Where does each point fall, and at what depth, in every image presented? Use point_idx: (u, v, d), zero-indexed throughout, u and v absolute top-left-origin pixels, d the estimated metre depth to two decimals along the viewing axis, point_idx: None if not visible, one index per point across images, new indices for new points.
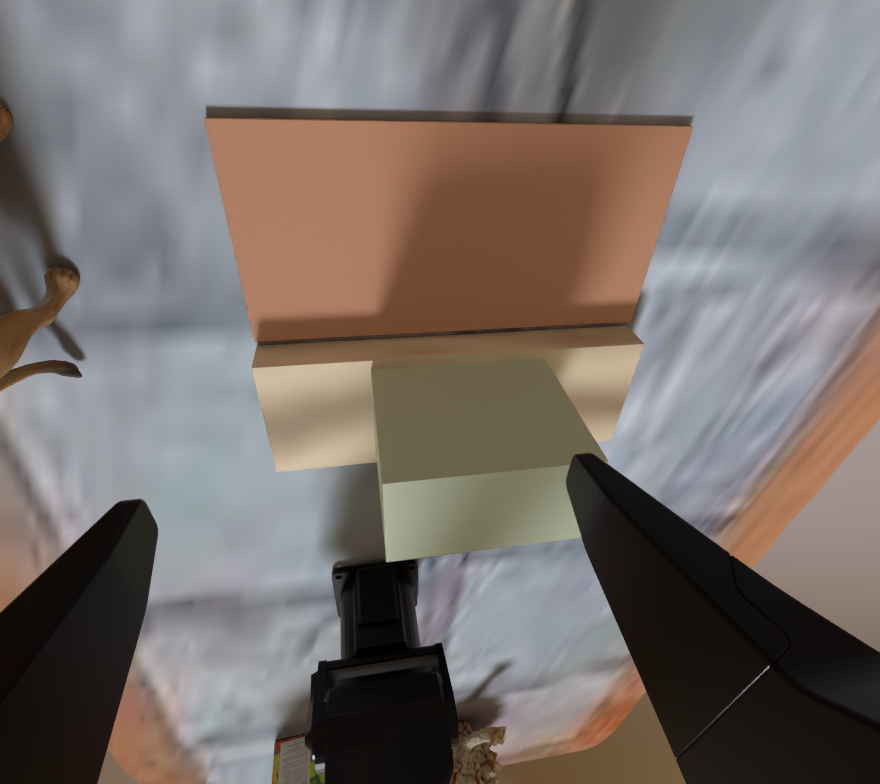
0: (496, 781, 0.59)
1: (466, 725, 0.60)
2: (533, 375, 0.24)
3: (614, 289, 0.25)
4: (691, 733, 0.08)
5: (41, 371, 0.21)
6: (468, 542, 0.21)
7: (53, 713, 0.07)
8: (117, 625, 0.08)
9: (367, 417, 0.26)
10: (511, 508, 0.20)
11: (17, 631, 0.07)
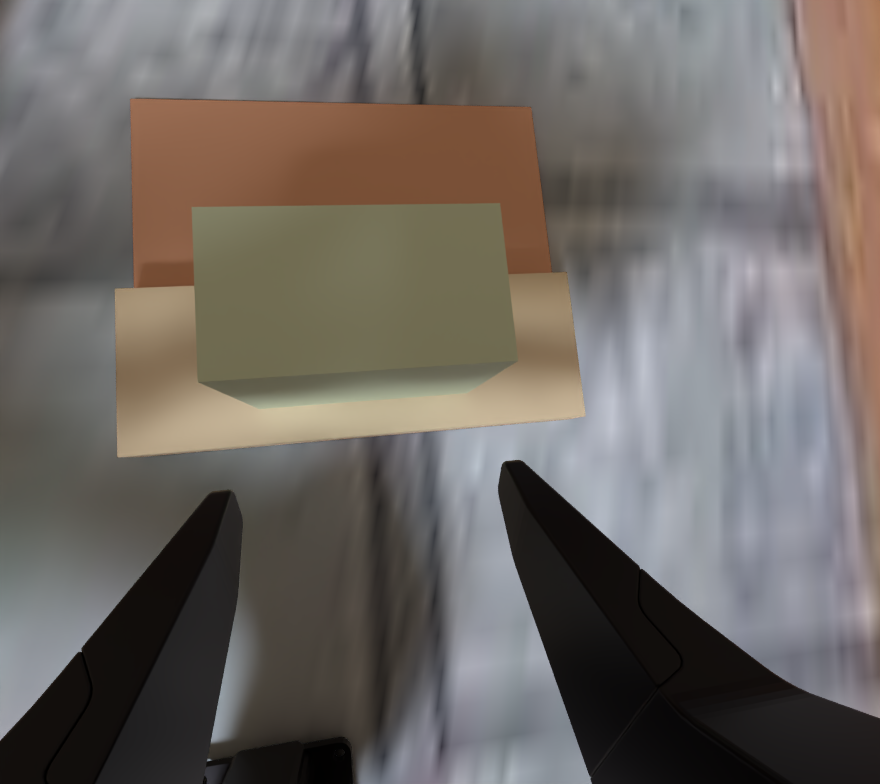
0: None
1: None
2: None
3: (519, 241, 0.25)
4: (600, 752, 0.08)
5: None
6: (332, 348, 0.14)
7: (179, 692, 0.07)
8: (220, 611, 0.08)
9: None
10: (385, 277, 0.14)
11: (146, 613, 0.07)
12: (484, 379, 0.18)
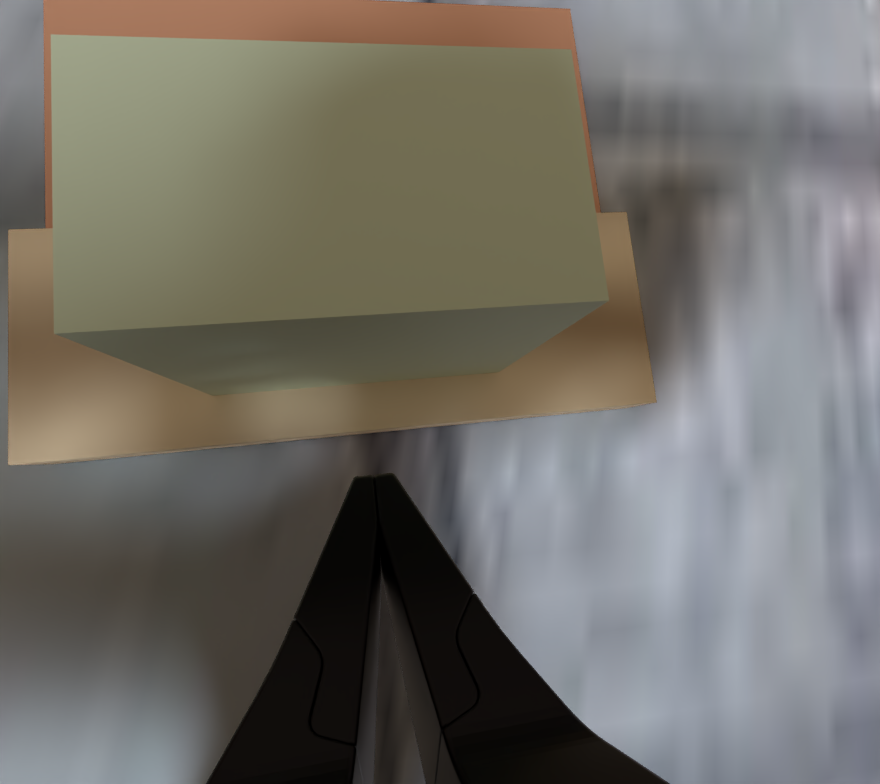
0: None
1: None
2: None
3: None
4: None
5: None
6: (297, 277, 0.08)
7: (371, 661, 0.07)
8: (379, 588, 0.09)
9: None
10: (387, 161, 0.08)
11: (342, 586, 0.07)
12: (534, 345, 0.12)
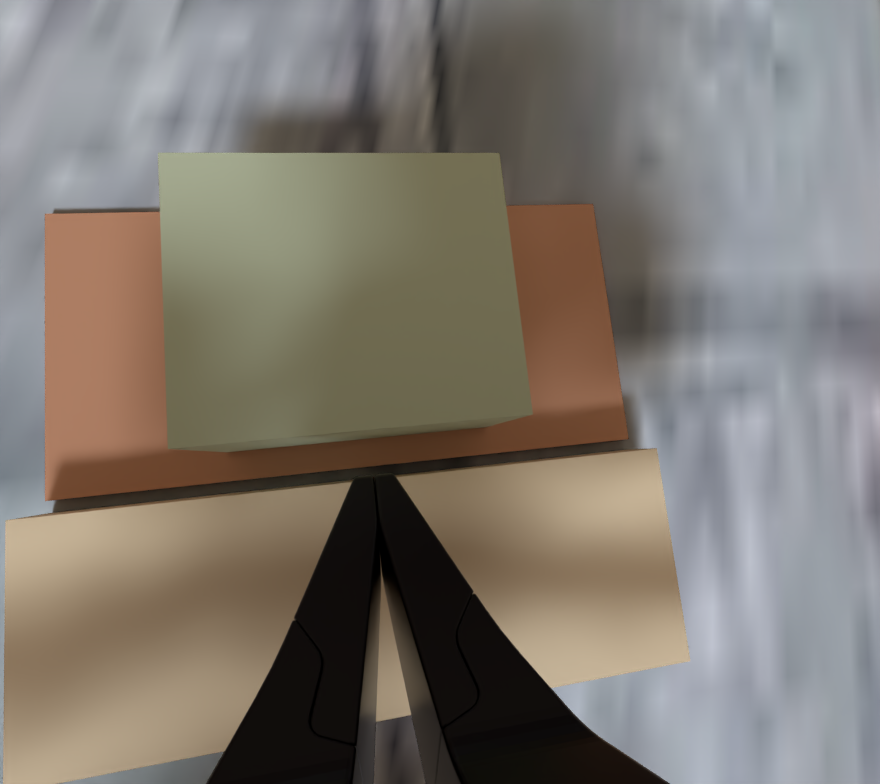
0: None
1: None
2: None
3: (582, 390, 0.18)
4: None
5: None
6: None
7: (371, 660, 0.07)
8: (378, 588, 0.09)
9: (209, 625, 0.14)
10: None
11: (342, 586, 0.07)
12: (508, 271, 0.13)
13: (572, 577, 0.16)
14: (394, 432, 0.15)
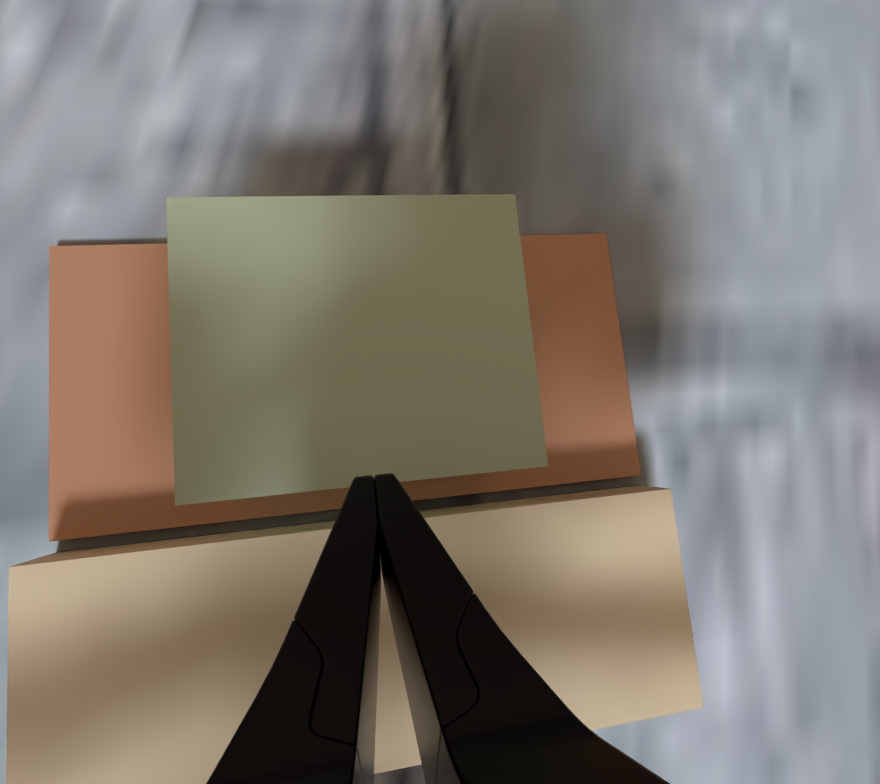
0: None
1: None
2: None
3: (595, 425, 0.18)
4: None
5: None
6: None
7: (371, 661, 0.07)
8: (378, 588, 0.09)
9: (215, 674, 0.14)
10: None
11: (342, 586, 0.07)
12: (523, 317, 0.13)
13: (584, 621, 0.15)
14: None
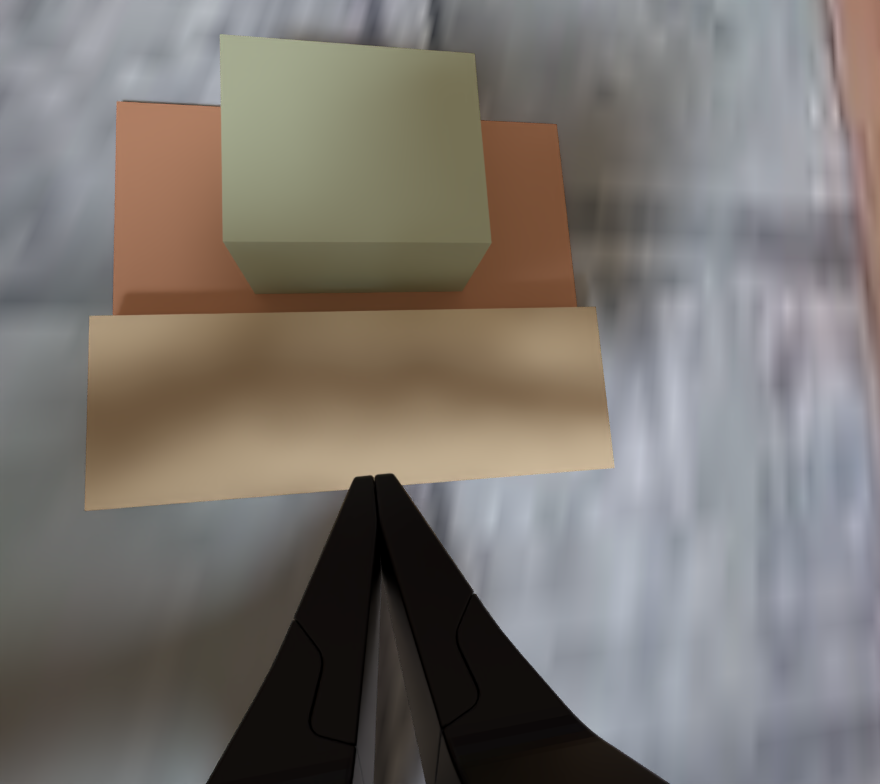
0: None
1: None
2: None
3: (541, 269, 0.23)
4: None
5: None
6: None
7: (371, 661, 0.07)
8: (378, 588, 0.09)
9: (240, 406, 0.18)
10: None
11: (342, 586, 0.07)
12: (477, 139, 0.18)
13: (524, 396, 0.20)
14: (387, 270, 0.19)
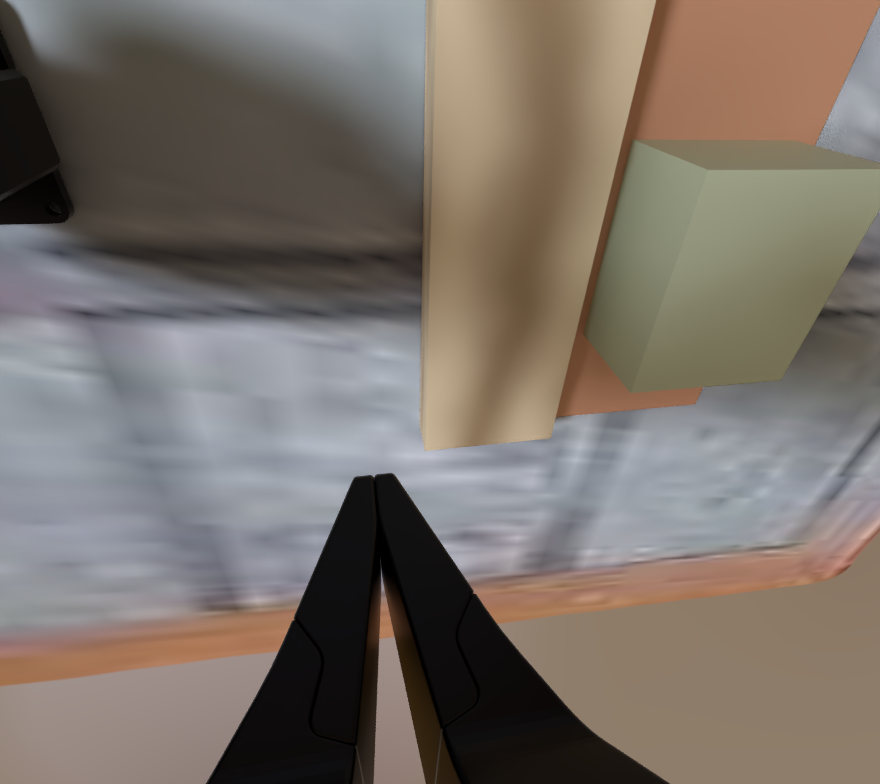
0: None
1: None
2: None
3: (585, 393, 0.27)
4: None
5: None
6: None
7: (371, 660, 0.07)
8: (379, 588, 0.09)
9: (527, 139, 0.17)
10: None
11: (342, 586, 0.07)
12: (714, 382, 0.21)
13: (490, 390, 0.24)
14: (625, 293, 0.21)
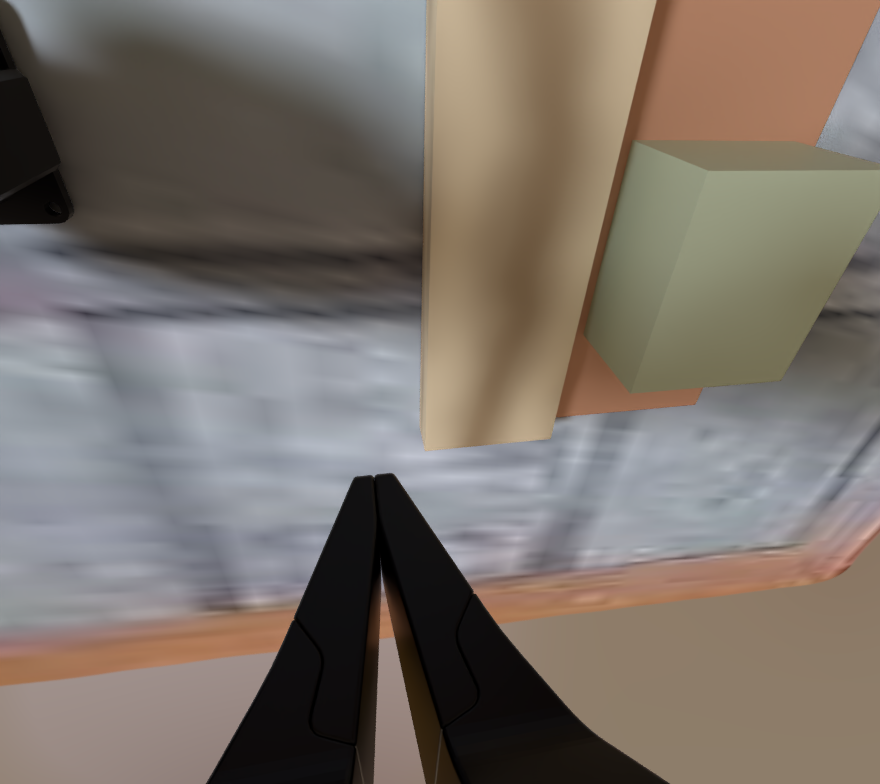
0: None
1: None
2: None
3: (585, 393, 0.27)
4: None
5: None
6: None
7: (371, 661, 0.07)
8: (379, 588, 0.09)
9: (528, 139, 0.17)
10: None
11: (342, 586, 0.07)
12: (713, 383, 0.21)
13: (490, 391, 0.24)
14: (625, 293, 0.21)
